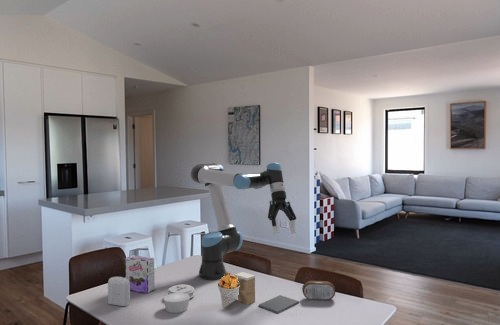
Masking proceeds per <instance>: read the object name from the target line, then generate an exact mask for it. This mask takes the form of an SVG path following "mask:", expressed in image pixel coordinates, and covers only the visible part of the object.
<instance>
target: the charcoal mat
mask: <svg viewBox="0 0 500 325" xmlns="http://www.w3.org/2000/svg"><path fill="white" fill-rule="evenodd" d="M298 304H300V301H299V300H296V299H293V298H290V297H287V296H284V295H281V294H279V295H277V296H275V297H273V298H270V299H269V300H266V301H264V302H261V303H259V304H258V307H260V308H263V309H265V310H267V311H270V312H272V313H275V314H279V313H282V312H284V311H286V310H288V309H290V308H292V307H294V306H296V305H298Z"/></svg>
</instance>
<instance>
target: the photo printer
mask: <svg viewBox="0 0 500 325" xmlns="http://www.w3.org/2000/svg"><path fill="white" fill-rule="evenodd" d="M107 303H108V304H109V305H114V306H119V307H120V306H121V307H128V306H129V305H130V304H131V291H130V281H129V280H128V279H126V277H122V276H112V277H110V278H109V279H108V282H107Z"/></svg>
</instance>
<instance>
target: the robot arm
mask: <svg viewBox="0 0 500 325" xmlns="http://www.w3.org/2000/svg"><path fill="white" fill-rule="evenodd" d="M190 177H191V180H192V181H193V182H194V183H195V184H204V187H205V189H207V190H208V192H209V197H210V201H211V204H212V205H211V206H212V209H213V212H214V217H215V220H216V225H217V230H216V231H210V232H206V233H204V234H203V236H202V237H201V243H200V244H201V263H200V264H201V265H200V267H199V271H198V277H199V278H200V279H202V280H208V281H209V280H211V281H213V280H219V279H222V278H221V277H223V276H224V274H225V273H226V274H227V270H226V267H225V264H224V260H223V259H224V257H223V256H224V255H225V254H228V253H232V252H236V251H238V250H240V248H241V247H242V245H243V241H244V240H243V239H244V238H243V235H242V234H243V233H241V231H239V230H237V228H236V226H235V225H234V224H233V221H232V219H231V215H230V214H231V213H230V211H229V207H228V202H227V199H226V195H225V191H224V188H223V186H228V187H232V188H233V187H234V188H236V189H238V190H246V189H248V190H249V189H254V190H258V189H262V188H263V187H266V186H269V191H270V195H271V200H269V209H268V213H267V219H268V220H269V221H271V225H272V230H273V234H278V233H280V230H279V224H278V219H277V216H278V213H279V211H282V212H283V213H284V214H285V216H286V217H287V219H288V220H289V221H288V225H289V230H290V234H291V235H292V234H296V233H297V230H296V224H295V221H296V220H297V216H296V214H295V212H294V209H293V208H292V206H291V202H290V201H286V199H287V192H286V188H285V183H284V176H283V170H282V166H281V164H280V163H278V162H270V163H268V164H267V165H266V170H264V171H261V172H259V173H241V172H240V173H239V172H234V171H233V172H232V171H226V169H225V168H224V167H223V165H221V164H220V163H199V164H196V165H194V166H193V167H192V168H191V171H190ZM223 278H224V277H223Z"/></svg>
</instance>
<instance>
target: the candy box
mask: <svg viewBox="0 0 500 325" xmlns="http://www.w3.org/2000/svg"><path fill="white" fill-rule="evenodd" d="M124 261H125V262H124V263H125V278H126V279H128V280H129V281H130V292H137V293H142V294H150V293H152V292H153V291H155V290H156V288H155V257H148V256H140V255H129V256H127V257H125V260H124Z"/></svg>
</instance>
